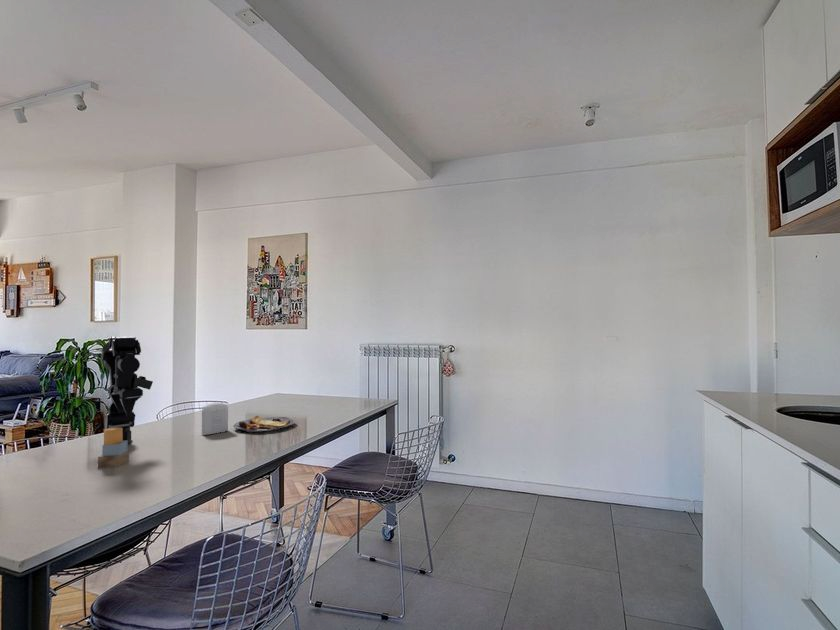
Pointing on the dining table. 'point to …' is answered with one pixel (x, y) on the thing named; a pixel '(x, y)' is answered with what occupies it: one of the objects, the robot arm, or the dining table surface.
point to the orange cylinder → (113, 436)
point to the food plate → (264, 424)
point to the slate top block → (115, 449)
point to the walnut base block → (113, 460)
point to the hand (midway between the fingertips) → (125, 414)
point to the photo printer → (214, 418)
